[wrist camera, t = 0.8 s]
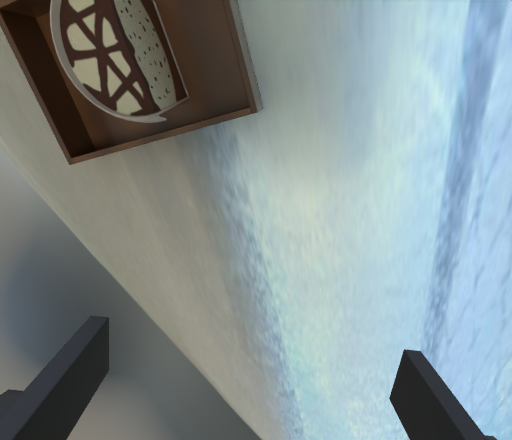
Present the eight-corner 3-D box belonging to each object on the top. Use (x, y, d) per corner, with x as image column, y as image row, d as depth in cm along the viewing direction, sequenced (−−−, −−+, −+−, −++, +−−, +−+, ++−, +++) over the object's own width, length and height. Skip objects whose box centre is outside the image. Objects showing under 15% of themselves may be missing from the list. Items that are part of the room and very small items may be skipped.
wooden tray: (220, -67, 28) (205, -95, 23) (263, 108, 33) (257, 112, 29) (30, 14, 32) (-12, 3, 28) (95, 155, 38) (69, 165, 34)
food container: (94, 6, 31) (9, -26, 22) (147, -19, 30) (80, -64, 21) (146, 128, 35) (93, 144, 26) (195, 112, 34) (156, 122, 25)
